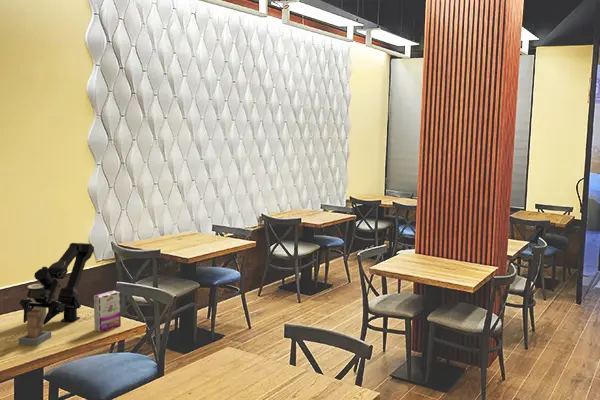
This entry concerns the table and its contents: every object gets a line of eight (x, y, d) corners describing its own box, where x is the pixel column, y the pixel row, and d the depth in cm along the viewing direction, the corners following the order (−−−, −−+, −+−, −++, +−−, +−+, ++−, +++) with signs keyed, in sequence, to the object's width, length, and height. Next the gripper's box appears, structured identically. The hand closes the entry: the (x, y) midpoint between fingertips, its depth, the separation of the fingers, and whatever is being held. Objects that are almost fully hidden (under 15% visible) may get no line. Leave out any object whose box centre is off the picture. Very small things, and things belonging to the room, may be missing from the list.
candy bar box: (114, 323, 274) (114, 289, 272) (121, 326, 271) (120, 292, 269) (93, 329, 265) (93, 294, 263) (100, 332, 262) (99, 297, 260)
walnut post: (34, 338, 253) (34, 309, 251) (42, 339, 252) (41, 310, 250) (27, 342, 248) (27, 313, 246) (35, 343, 247) (34, 313, 246)
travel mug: (50, 320, 275) (49, 284, 273) (40, 326, 267) (40, 288, 265) (34, 319, 276) (33, 283, 273) (24, 325, 268) (23, 287, 266)
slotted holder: (33, 335, 256) (33, 330, 255) (51, 337, 254) (51, 331, 254) (18, 344, 245) (18, 338, 245) (36, 345, 244) (36, 340, 244)
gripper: (20, 280, 253) (5, 312, 243) (60, 283, 250) (45, 316, 241) (32, 293, 262) (17, 324, 252) (70, 296, 259) (57, 328, 249)
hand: (34, 323), depth 248 cm, fingers open, 9 cm apart
